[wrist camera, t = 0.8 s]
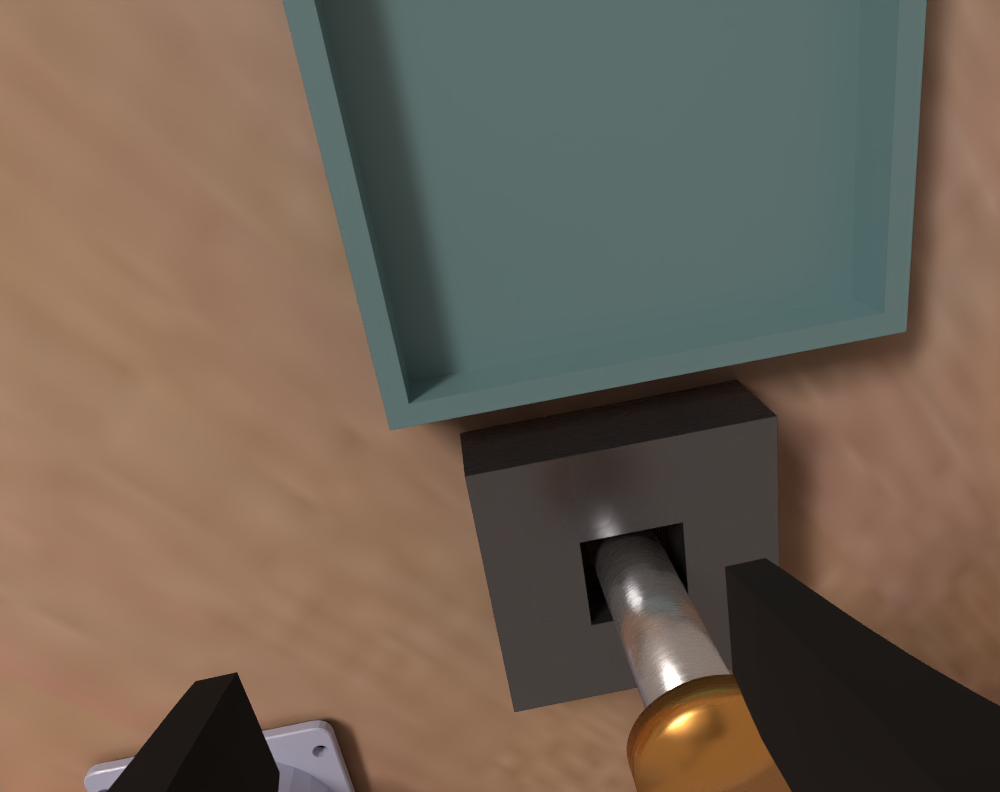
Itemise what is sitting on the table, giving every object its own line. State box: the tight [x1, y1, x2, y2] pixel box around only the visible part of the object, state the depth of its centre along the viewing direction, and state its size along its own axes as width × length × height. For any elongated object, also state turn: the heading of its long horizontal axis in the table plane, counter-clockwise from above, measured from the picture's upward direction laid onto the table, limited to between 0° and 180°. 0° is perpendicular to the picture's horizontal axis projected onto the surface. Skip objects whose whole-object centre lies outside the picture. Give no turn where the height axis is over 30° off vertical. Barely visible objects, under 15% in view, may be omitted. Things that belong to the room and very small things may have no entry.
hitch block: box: [460, 380, 779, 712], centre depth 21 cm, size 8×8×2 cm
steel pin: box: [585, 528, 791, 792], centre depth 18 cm, size 3×3×9 cm
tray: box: [283, 0, 927, 430], centre depth 17 cm, size 13×13×2 cm
